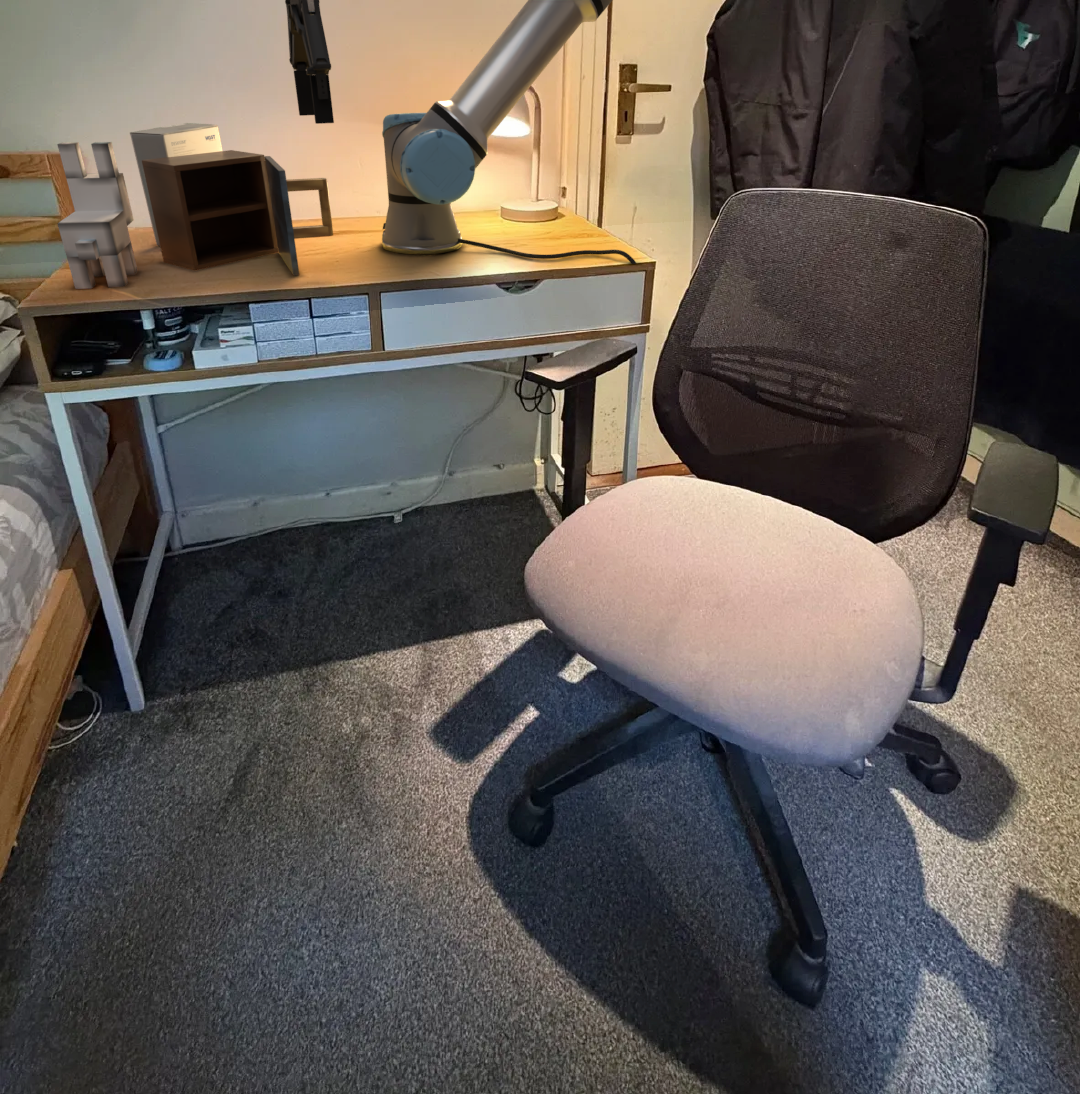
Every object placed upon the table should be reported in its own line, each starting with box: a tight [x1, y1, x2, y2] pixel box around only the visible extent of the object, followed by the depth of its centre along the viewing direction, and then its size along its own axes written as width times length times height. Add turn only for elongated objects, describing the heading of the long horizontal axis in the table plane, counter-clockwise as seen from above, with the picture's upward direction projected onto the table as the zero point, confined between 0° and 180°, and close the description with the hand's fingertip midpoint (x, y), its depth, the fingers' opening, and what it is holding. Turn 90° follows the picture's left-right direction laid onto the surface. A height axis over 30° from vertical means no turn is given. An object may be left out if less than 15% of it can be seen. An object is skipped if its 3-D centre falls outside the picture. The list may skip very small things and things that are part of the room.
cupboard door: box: [264, 155, 334, 277], centre depth 147 cm, size 8×18×16 cm, turn 23°
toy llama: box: [57, 141, 139, 290], centre depth 136 cm, size 8×18×20 cm, turn 11°
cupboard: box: [142, 149, 279, 272], centre depth 150 cm, size 10×18×17 cm, turn 143°
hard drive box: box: [129, 122, 223, 247], centre depth 161 cm, size 16×8×20 cm, turn 159°
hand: (316, 119), depth 135 cm, fingers open, 13 cm apart
